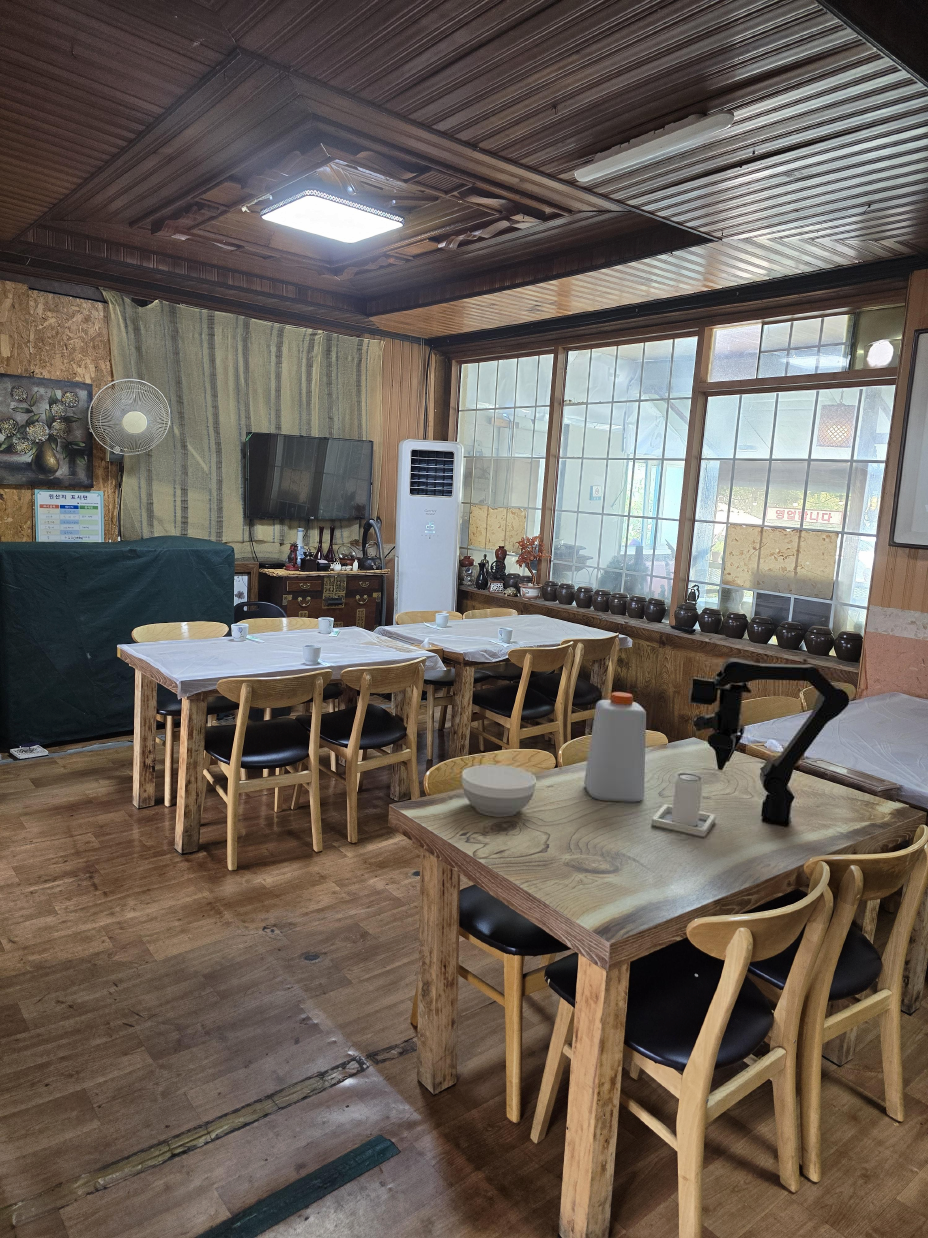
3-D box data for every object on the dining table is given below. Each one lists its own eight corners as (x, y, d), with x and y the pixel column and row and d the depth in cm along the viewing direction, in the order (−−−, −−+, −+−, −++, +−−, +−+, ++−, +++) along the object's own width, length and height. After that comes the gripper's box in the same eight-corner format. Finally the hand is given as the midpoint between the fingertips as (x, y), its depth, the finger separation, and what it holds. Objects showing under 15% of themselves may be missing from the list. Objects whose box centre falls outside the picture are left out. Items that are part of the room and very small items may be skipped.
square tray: (714, 822, 214) (715, 815, 214) (704, 838, 203) (705, 830, 203) (664, 811, 220) (664, 804, 220) (651, 826, 209) (651, 818, 208)
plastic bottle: (633, 785, 240) (642, 689, 236) (647, 804, 225) (656, 702, 221) (581, 783, 239) (589, 686, 235) (591, 801, 224) (599, 699, 220)
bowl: (529, 827, 203) (531, 792, 202) (452, 817, 206) (454, 782, 205) (537, 802, 221) (540, 769, 220) (467, 792, 225) (469, 761, 224)
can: (668, 823, 210) (673, 777, 209) (675, 816, 216) (679, 770, 214) (694, 829, 207) (699, 782, 205) (700, 821, 213) (705, 776, 211)
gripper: (705, 696, 229) (699, 751, 231) (690, 708, 213) (684, 768, 215) (747, 703, 224) (741, 759, 226) (735, 716, 208) (729, 777, 210)
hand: (723, 765), depth 219 cm, fingers open, 9 cm apart
